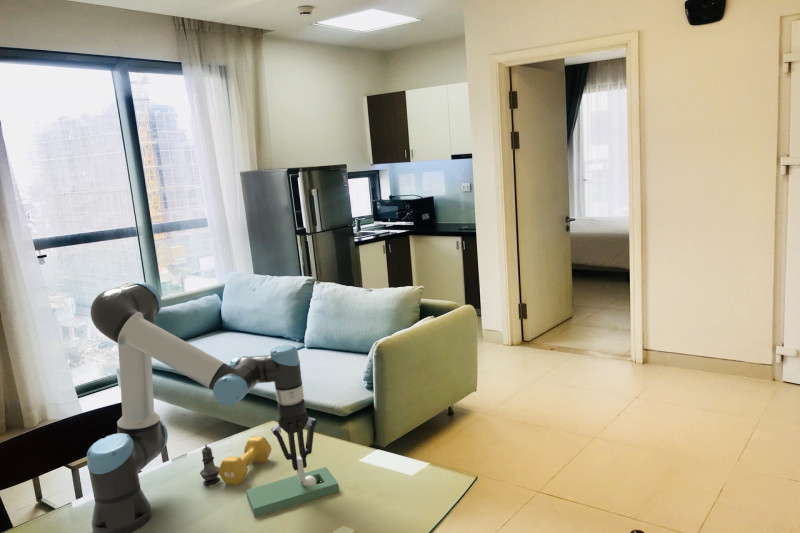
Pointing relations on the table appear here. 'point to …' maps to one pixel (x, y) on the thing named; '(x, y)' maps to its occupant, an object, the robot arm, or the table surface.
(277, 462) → the table surface
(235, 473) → the dumbbell
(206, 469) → the dark grey chess piece
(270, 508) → the green
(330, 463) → the table surface
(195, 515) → the table surface
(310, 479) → the ball
